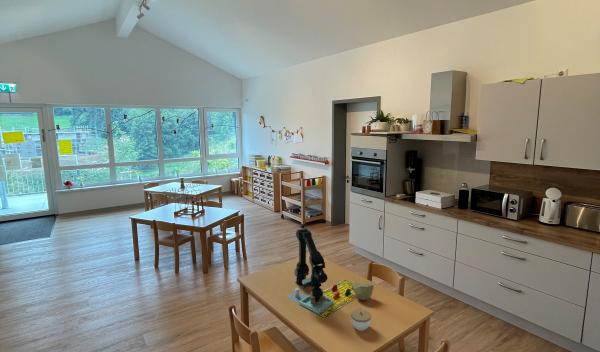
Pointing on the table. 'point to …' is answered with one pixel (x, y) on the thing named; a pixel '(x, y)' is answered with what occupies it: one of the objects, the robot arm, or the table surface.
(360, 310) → the lidded jar
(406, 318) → the table surface
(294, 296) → the grey square knobbed piece
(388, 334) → the table surface
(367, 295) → the grey bowl
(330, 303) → the tray
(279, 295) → the table surface
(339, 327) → the table surface
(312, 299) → the walnut square frame
